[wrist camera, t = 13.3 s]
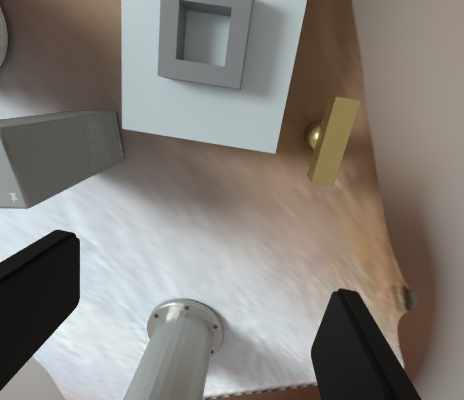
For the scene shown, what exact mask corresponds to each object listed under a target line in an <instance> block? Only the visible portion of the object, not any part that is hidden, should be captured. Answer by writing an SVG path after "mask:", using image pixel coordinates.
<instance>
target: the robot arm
mask: <svg viewBox="0 0 464 400" xmlns="http://www.w3.org/2000/svg"><path fill="white" fill-rule="evenodd" d="M79 299H80V240H79V239H78V238H76V235H75V234H74V233H72V232H67V231H62V230H55V231H53V232H51V233H50V234H48V235H46V236H45V237H43V238H41V239H39V240H38V241H36V242H34V243H33V244H31V245H29V246H28V247H26V248H24V249H22V250H21V251H19V252H17V253H16V254H14V255H12V256H11V257H9V258H7V259H6V260H4V261H2V262H0V391H1V390H2V389H3V387H4V386H5V385H6V384H7V383H8V382H9V381H10V380H11V378H13V376H14V375H15V374H16V373H17V372H18V371H19V370H20V369H21V368H22V366H23V365H24V364H25V363H26V362H27V361H28V360H29V359H30V358H31V357H32V356H33V354H34V353H35V352H36V351H37V350H38V349H39V348H40V347H41V346H42V345H43V343H44V342H45V341H46V340H47V339H48V338H49V337H50V336H51V335H52V334H53V332H54V331H55V330H56V329H57V328H58V327H59V326H60V325H61V324H62V323H63V322H64V320H65V319H66V318H67V317H68V316H69V315H70V314H71V313H72V312H73V311H74V309H75V308H76V307H77V305H78V303H79ZM147 332H148V336H149V338H150V341H149V343H148V345H147V348H146V350H145V352H144V354H143V357H142V359H141V361H140V363H139V366H138V368H137V370H136V372H135V375H134V377H133V379H132V381H131V384H130V386H129V388H128V390H127V392H126V395H125V397H124V399H123V400H202V399H203V393H204V388H205V382H206V377H207V371H208V366H209V360H210V357H211V356H213V355H214V354H215V353H216V352H217V351H218V350H219V348H220V347H221V344H222V341H223V334H224V333H223V326H222V323H221V321H220V320H219V318H218V316H217V315H216V314H215V313H214V312H213V311H212V310H211V309H209V308H208V307H206V306H204V305H203V304H201V303H198V302H195V301H191V300H185V299H176V300H170V301H167V302H164V303H162V304H160V305H159V306H158V307H156V308H155V310H154V311H153V312H152V314H151V316H150V318H149V320H148V323H147ZM311 359H312V363H313V367H314V371H315V375H316V379H317V384H318V388H319V392H320V396H321V400H421V398H420V396H419V395H418V393H417V391H416V390H415V388H414V386H413V385H412V383H411V381H410V379H409V378H408V376H407V374H406V373H405V371H404V369H403V368H402V366H401V364H400V363H399V361H398V359H397V357H396V356H395V354H394V352H393V351H392V349H391V347H390V346H389V344H388V342H387V341H386V339H385V337H384V336H383V334H382V332H381V330H380V329H379V327H378V325H377V324H376V322H375V320H374V319H373V317H372V315H371V314H370V312H369V310H368V308H367V307H366V305H365V303H364V302H363V300H362V298H361V297H360V295H359V294H358V292H356V291H351V290H346V289H339V290H338V291H337V292H336V291H334V292H333V293H332V295H331V298H330V300H329V303H328V306H327V308H326V311H325V314H324V316H323V319H322V322H321V324H320V327H319V329H318V332H317V335H316V337H315V340H314V343H313V345H312V349H311Z"/></svg>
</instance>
